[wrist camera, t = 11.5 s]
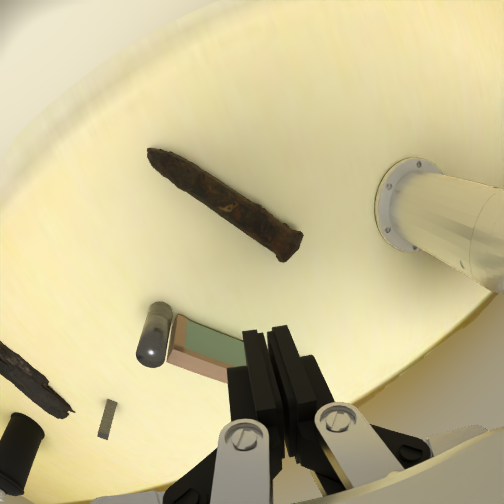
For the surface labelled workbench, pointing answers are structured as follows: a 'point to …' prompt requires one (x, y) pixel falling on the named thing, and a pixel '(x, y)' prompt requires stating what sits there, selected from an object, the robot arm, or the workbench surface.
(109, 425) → the gate posts
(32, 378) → the wood
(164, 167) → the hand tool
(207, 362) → the gate
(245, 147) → the workbench surface
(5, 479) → the aerosol can
